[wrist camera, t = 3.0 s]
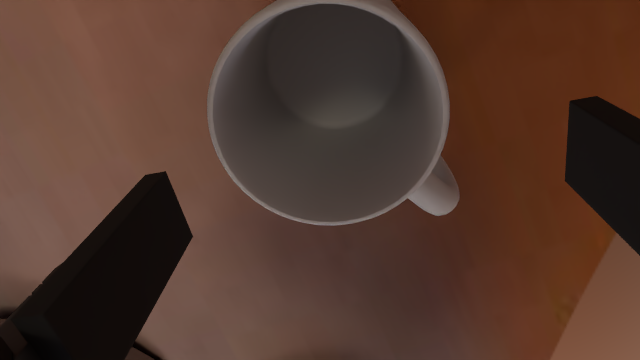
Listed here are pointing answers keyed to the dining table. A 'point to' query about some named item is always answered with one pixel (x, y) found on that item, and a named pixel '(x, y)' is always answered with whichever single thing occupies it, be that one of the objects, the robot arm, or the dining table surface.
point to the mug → (332, 112)
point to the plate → (134, 356)
